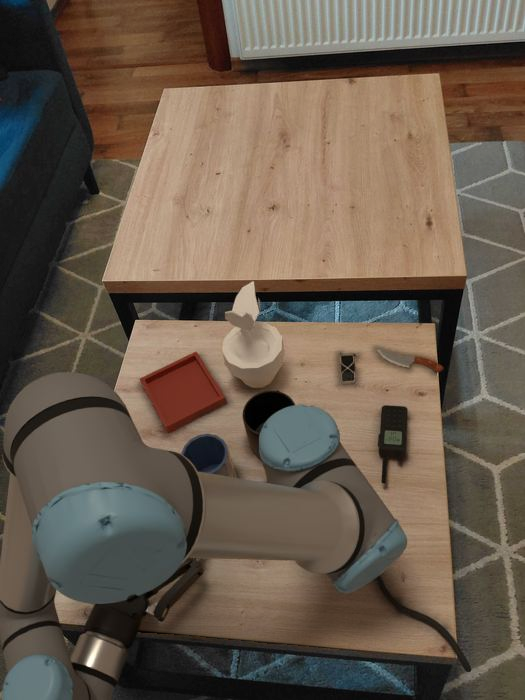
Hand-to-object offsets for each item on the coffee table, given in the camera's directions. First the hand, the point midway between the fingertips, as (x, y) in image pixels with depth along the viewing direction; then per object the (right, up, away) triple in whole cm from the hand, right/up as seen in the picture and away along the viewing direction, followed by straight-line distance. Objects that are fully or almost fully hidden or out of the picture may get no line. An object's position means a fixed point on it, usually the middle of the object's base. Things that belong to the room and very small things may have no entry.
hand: (162, 508), depth 106 cm
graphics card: (+31, +22, +21) cm, 44 cm away
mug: (+19, +10, +13) cm, 25 cm away
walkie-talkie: (+40, +15, +12) cm, 44 cm away
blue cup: (+8, +2, +8) cm, 12 cm away
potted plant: (+16, +21, +23) cm, 35 cm away
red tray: (+1, +17, +22) cm, 28 cm away
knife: (+44, +22, +19) cm, 53 cm away
